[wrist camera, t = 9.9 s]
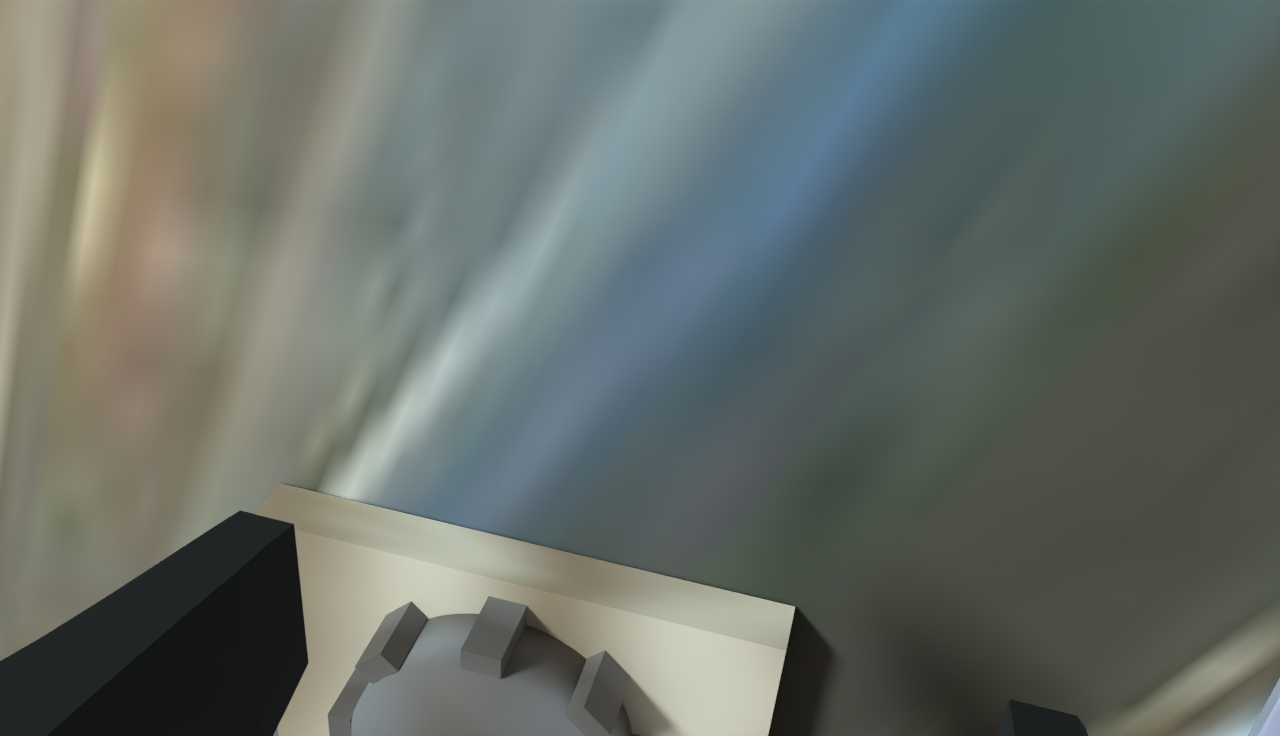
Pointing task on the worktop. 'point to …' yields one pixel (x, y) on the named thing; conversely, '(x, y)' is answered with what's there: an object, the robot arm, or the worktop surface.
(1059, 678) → the worktop surface
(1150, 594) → the worktop surface
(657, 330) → the worktop surface
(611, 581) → the gear board
